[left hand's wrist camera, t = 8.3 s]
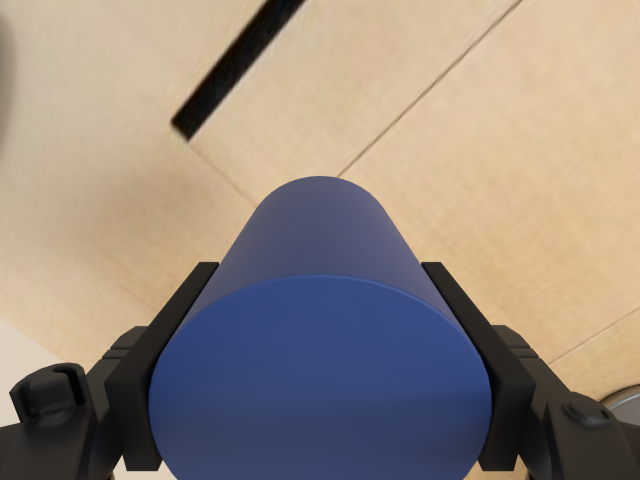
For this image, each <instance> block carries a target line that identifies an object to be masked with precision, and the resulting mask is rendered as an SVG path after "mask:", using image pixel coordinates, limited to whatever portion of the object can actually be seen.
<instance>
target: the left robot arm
mask: <svg viewBox="0 0 640 480" xmlns="http://www.w3.org/2000/svg"><path fill="white" fill-rule="evenodd" d="M218 266H219V262H199V263H198V265H197V266H196V267H195V268H194V270H193V271H192V272H191V273H190V275H189V276H188V277H187V278H186V280H185V281H184V282H183V283H182V285H181V286H180V287H179V288H178V290H177V291H176V292H175V293H174V295H173V296H172V297H171V298H170V300H169V301H168V302H167V303H166V305H165V306H164V307H163V308H162V310H161V311H160V312H159V313H158V315H157V316H156V317H155V318H154V320H153V321H152V322H151V323H150V325H149V326H135V327H134V328H132V329H131V330H129V331H128V332H126V333H124V334H123V335H121V336H120V337H119V338H118V339H117V341H116V342H115V343H114V344H113V345H112V346H111V347H110V350H108V351H107V352H106V353H105V354H104V355H103V356H102V359H100V360H99V361H98V362H97V363H96V364H95V365H94V366H93V368H92V369H91V370H90V371H89V372H88V373H87V374H86V375H85V372H84V368H83V367H81V366H80V365H79V364H76V363H60V364H54V365H51V366H48V367H45V368H42V369H39V370H37V371H35V372H33V373H31V374H29V375H27V376H26V377H25V378H23V379H22V380H21V381H19V382H18V383H17V384H16V385H15V386H14V387H13V388H12V390H11V391H10V392H9V394H10V396H11V399H12V402H13V404H14V407H15V410H16V412H17V415H18V417H19V420H20V423H17V424H12V425H8V426H4V427H0V480H115V478H114V474H113V470H114V468H115V466H116V465H117V463H118V461H119V459H120V458H121V456H122V455H123V459H124V462H125V466H126V470H127V471H158V469H159V467H160V465H161V462H162V460H163V459H162V457H161V455H160V453H159V451H158V449H157V447H156V445H155V442H154V438H153V435H152V432H151V428H150V421H149V413H148V402H149V389H150V384H151V380H152V376H153V372H154V370H155V367H156V365H157V362H158V360H159V358H160V355H161V354H162V352H163V351H164V349H165V347H166V346H167V344H168V343H169V341H170V340H171V338H172V336H173V335H174V333H175V332H176V330H177V329H178V327H179V326H180V324H181V323H182V321H183V320H184V318H185V317H186V315H187V314H188V312H189V311H190V309H191V308H192V306H193V304H194V303H195V301H196V300H197V298H198V297H199V295H200V294H201V292H202V291H203V289H204V288H205V286H206V285H207V283H208V282H209V280H210V279H211V277H212V275H213V274H214V272H215V271H216V269H217V268H218ZM421 266H422V267H423V269H424V271H425V272H426V274H427V275H428V277H429V278H430V280H431V281H432V283H433V284H434V286H435V287H436V289H437V290H438V292H439V293H440V295H441V296H442V298H443V299H444V301H445V303H446V304H447V306H448V307H449V309H450V310H451V312H452V313H453V315H454V316H455V318H456V319H457V321H458V322H459V324H460V325H461V327H462V328H463V330H464V331H465V333H466V334H467V336H468V338H469V339H470V341H471V342H472V344H473V346H474V347H475V349H476V350H477V352H478V354H479V355H480V357H481V359H482V362H483V364H484V367H485V369H486V372H487V374H488V379H489V384H490V389H491V396H492V416H491V423H490V429H489V433H488V436H487V439H486V442H485V445H484V447H483V449H482V451H481V453H480V455H479V457H478V459H477V460H478V462H479V464H480V466H481V469H482V471H514V467H515V463H516V460H517V456H518V454H519V455H520V457H521V459H522V461H523V462H524V464H525V466H526V467H527V469H528V470H527V474H526V477H525V480H640V426H639V425H634V424H630V423H626V422H622V421H618V420H617V419H616V417H615V416H614V414H613V413H612V412H611V411H610V410H608V409H607V408H606V407H605V406H604V405H602V404H601V403H599V402H597V401H595V400H594V399H592V398H590V397H588V396H585V395H582V394H579V393H577V392H571V391H570V390H569V389H568V388H567V387H566V386H565V385H564V384H563V382H562V381H561V380H560V379H559V378H558V377H557V376H556V375H555V373H554V372H553V371H552V370H551V369H550V368H549V367H548V366H547V365H546V363H545V362H544V361H543V360H542V359H541V358H539V356H538V354H537V353H536V352H535V351H534V350H533V349H531V348H530V346H529V344H528V343H527V342H526V341H525V340H524V339H523V338H522V337H521V335H519V334H518V333H516V332H515V331H513V330H512V329H510V328H508V327H507V326H505V325H491V324H490V323H489V322H488V321H487V319H486V318H485V317H484V316H483V314H482V313H481V312H480V311H479V309H478V308H477V307H476V306H475V304H474V303H473V302H472V301H471V299H470V298H469V297H468V296H467V294H466V293H465V292H464V291H463V289H462V288H461V287H460V286H459V284H458V283H457V282H456V281H455V279H454V278H453V277H452V276H451V274H450V273H449V272H448V271H447V269H446V268H445V267H444V266H443V264H442V263H441V262H421Z"/></svg>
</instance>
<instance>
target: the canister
mask: <svg viewBox="0 0 640 480" xmlns="http://www.w3.org/2000/svg"><path fill="white" fill-rule="evenodd" d="M148 413H149V421H150V428H151V432H152V435H153V438H154V442H155V445H156V447H157V449H158V451H159V453H160V455H161V457H162V459H163V461H164V462H165V464H166V465H167V467H168V468H169V470H170V471H171V473H172V474H173V475H174V476H175V477H176V479H177V480H463V479H464V478H465V477H466V476H467V474H468V473H469V471H470V470H471V468H472V467H473V466H474V464H475V463H476V461H477V459H478V457H479V455H480V453H481V451H482V449H483V447H484V445H485V442H486V439H487V436H488V433H489V429H490V423H491V416H492V396H491V389H490V384H489V379H488V374H487V372H486V369H485V367H484V364H483V362H482V359H481V357H480V355H479V354H478V352H477V350H476V349H475V347H474V346H473V344H472V342H471V341H470V339H469V338H468V336H467V334H466V333H465V331H464V330H463V328H462V327H461V325H460V324H459V322H458V321H457V319H456V318H455V316H454V315H453V313H452V312H451V310H450V309H449V307H448V306H447V304H446V303H445V301H444V299H443V298H442V296H441V295H440V293H439V292H438V290H437V289H436V287H435V286H434V284H433V283H432V281H431V280H430V278H429V277H428V275H427V274H426V272H425V271H424V269H423V267H422V266H421V264H420V263H419V261H418V260H417V258H416V257H415V255H414V254H413V252H412V251H411V249H410V248H409V246H408V245H407V243H406V242H405V240H404V239H403V237H402V235H401V234H400V232H399V231H398V229H397V228H396V226H395V225H394V223H393V222H392V220H391V219H390V217H389V216H388V214H387V213H386V211H385V210H384V208H383V207H382V206H381V204H380V203H379V202H378V201H377V200H376V199H375V198H374V197H373V196H372V195H371V194H370V193H369V192H367V191H366V190H364V189H363V188H361V187H360V186H358V185H356V184H354V183H352V182H349V181H346V180H343V179H339V178H335V177H327V176H313V177H306V178H300V179H297V180H294V181H291V182H289V183H287V184H284V185H282V186H280V187H279V188H277V189H276V190H274V191H273V192H271V193H270V194H269V195H268V196H267V197H266V198H265V199H264V200H263V201H262V202H261V203H260V204H259V206H258V207H257V208H256V210H255V211H254V213H253V214H252V216H251V218H250V219H249V221H248V222H247V224H246V225H245V227H244V228H243V230H242V231H241V233H240V234H239V236H238V237H237V239H236V240H235V242H234V243H233V245H232V246H231V248H230V250H229V251H228V253H227V254H226V256H225V257H224V259H223V260H222V262H221V263H220V265H219V266H218V268H217V269H216V271H215V272H214V274H213V275H212V277H211V279H210V280H209V282H208V283H207V285H206V286H205V288H204V289H203V291H202V292H201V294H200V295H199V297H198V298H197V300H196V301H195V303H194V304H193V306H192V308H191V309H190V311H189V312H188V314H187V315H186V317H185V318H184V320H183V321H182V323H181V324H180V326H179V327H178V329H177V330H176V332H175V333H174V335H173V336H172V338H171V340H170V341H169V343H168V344H167V346H166V347H165V349H164V351H163V352H162V354H161V355H160V358H159V360H158V362H157V365H156V367H155V370H154V372H153V376H152V380H151V384H150V389H149V402H148Z"/></svg>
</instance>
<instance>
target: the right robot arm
mask: <svg viewBox="0 0 640 480" xmlns="http://www.w3.org/2000/svg"><path fill="white" fill-rule="evenodd" d="M601 404H602V405H604V406H605V407H606V408H607V409H608V410H610V411H611V412H612V413H613V414H614V416H615V417H616V419H617V420H618V421H622V422H626V423H630V424H634V425H639V426H640V385H639V386H634V387H631V388H628V389H625V390H622V391H620V392H618V393H616V394H614V395H612V396H610V397H608V398H607V399H605V400H604V401H602V402H601Z"/></svg>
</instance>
